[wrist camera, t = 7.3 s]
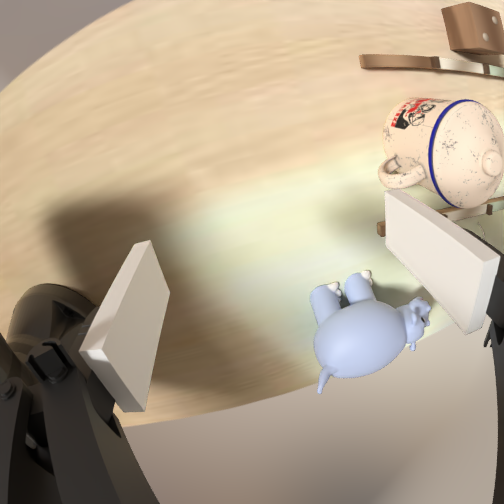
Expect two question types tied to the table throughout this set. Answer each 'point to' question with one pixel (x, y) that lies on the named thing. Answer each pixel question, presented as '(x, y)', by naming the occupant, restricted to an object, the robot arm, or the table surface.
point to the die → (474, 29)
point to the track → (441, 64)
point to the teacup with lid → (444, 149)
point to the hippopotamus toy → (362, 329)
